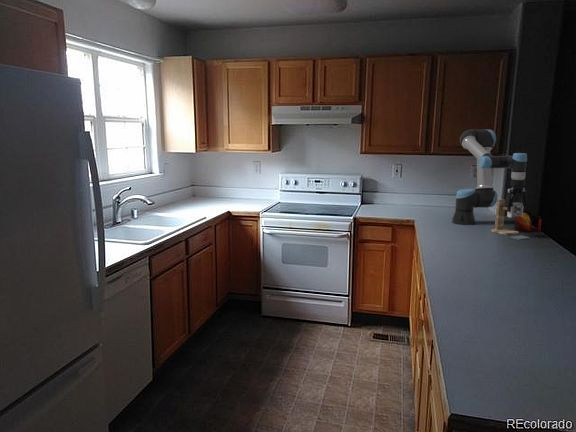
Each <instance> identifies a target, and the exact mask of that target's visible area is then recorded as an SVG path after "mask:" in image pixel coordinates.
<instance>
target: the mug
mask: <svg viewBox="0 0 576 432" xmlns="http://www.w3.org/2000/svg"><path fill="white" fill-rule="evenodd" d="M514 218H515V219H514V228H513V229H514V230H513V231H518V232H525V233H526V232H527V233H529V232H532V231H534V230H535V231H541V230H542V229H541V228H542V227H541V226H542V216H541V215H540V216H539V215H534V212H533V211H530V210H525V209H524V210H523V216H516V217H514ZM533 219H536V220H537V219H538V227H537V226H536V227H535V226H533Z"/></svg>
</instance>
